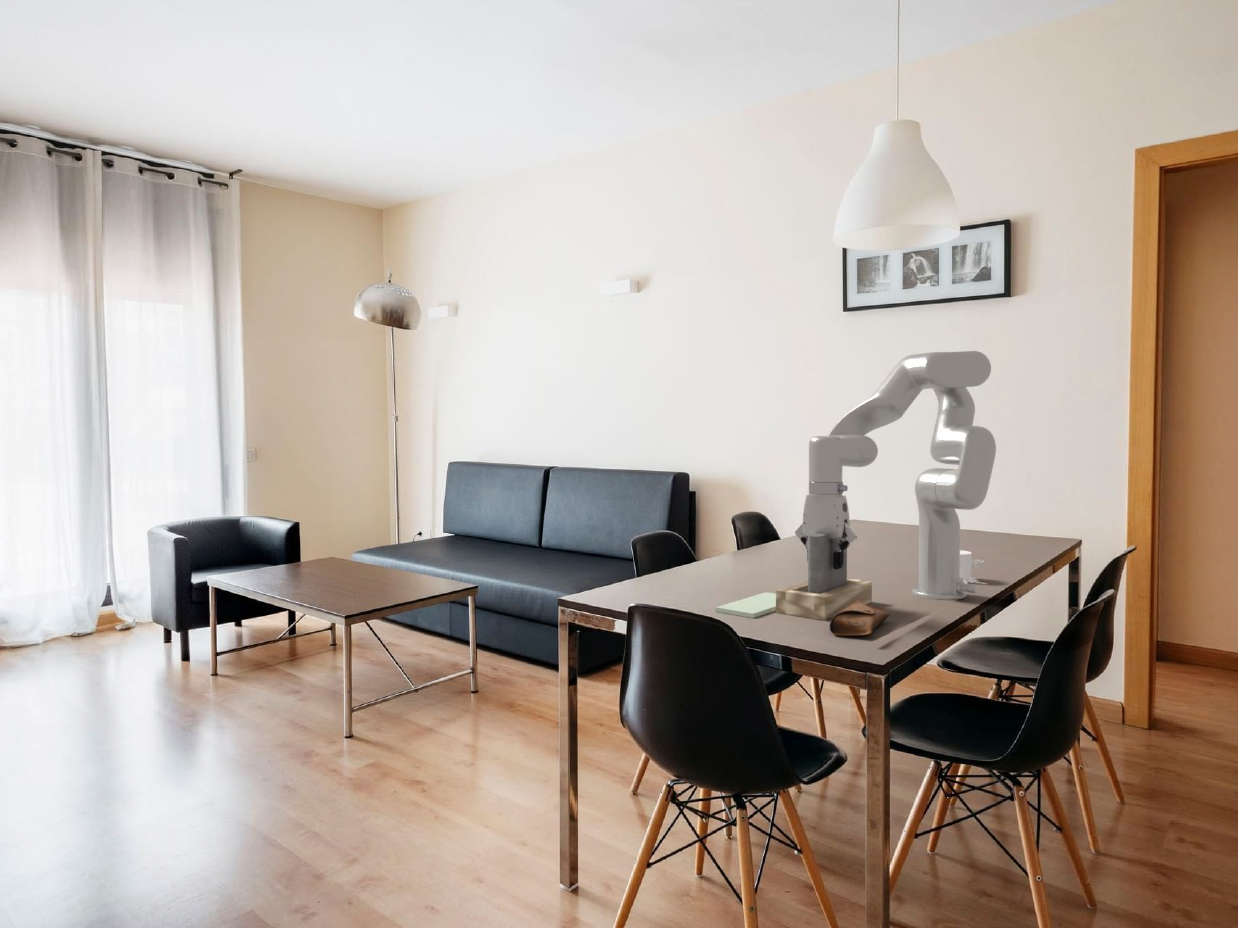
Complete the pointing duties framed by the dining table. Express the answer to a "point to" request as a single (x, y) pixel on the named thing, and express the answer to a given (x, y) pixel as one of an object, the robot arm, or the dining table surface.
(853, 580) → the beige open box
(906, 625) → the dining table surface
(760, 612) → the mat
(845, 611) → the sunglasses case
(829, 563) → the hip flask
